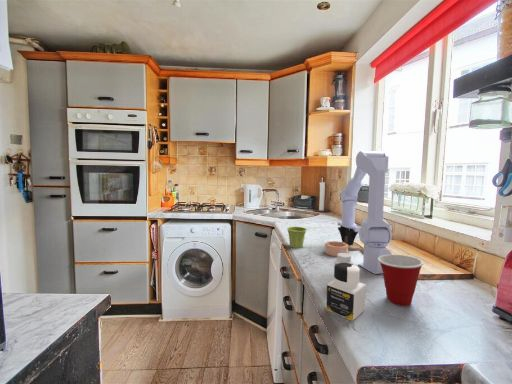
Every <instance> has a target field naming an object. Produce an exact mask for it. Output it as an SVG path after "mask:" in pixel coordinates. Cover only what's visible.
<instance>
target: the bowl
mask: <svg viewBox="0 0 512 384" xmlns="http://www.w3.org/2000/svg"><path fill="white" fill-rule="evenodd" d="M324 247H325V248H324V249H325V251H324V252H325V253H326V255H329V256H330V257H335V258H337V254H338V253H347V254H349V251H348V244H346V243H344V242H342V241H335V240H332V241H327V242H326V243H325V244H324Z"/></svg>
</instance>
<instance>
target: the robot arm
mask: <svg viewBox="0 0 512 384" xmlns="http://www.w3.org/2000/svg"><path fill="white" fill-rule="evenodd" d="M355 165H356V168H355V169H356V170H355V172H354V174H353V177H351V178H349V180H348V182H347V184H346V185H345V186H346V187H345V188H342V189H341V191H340V195H339V197H340V201H341V220H338V221H337V226H338V227H337V230H338V231H339V234H340V239H341V242H345V236H347V238H348V245H353V243H354V242H355V239H356V237H357V236H358V238H359V241H360V242H361V243H362V244H363V262H360V263H359V262H358V263H357V265H358V266H360V267H361V268H363V269H365V270H366V271H369V272H370V273H372V274H374V275H380V274H383V270H382V267H381V264H380V262H379V261H378V257H380V256H383V255H393V254H392V252H391V251H390V249H388V248H387V247H388V244H390V242H391V240H392V238H393V236H392V234H393V233H392V232H391V224H390V223H389V222H388V221H386V220H385V219H384V204H385V203H384V202H385V185H386V173H388V170H389V169H388V168H389V155H388V154H387V152H386V151H383V150H381V151H363V150H359V151H358V152H357V154H356V156H355ZM366 175H368V177H369V180H368V181H369V182H368V198H367V199H368V201H367V218H365V219H364V220H363V221H361V223H360V226H357V224H356V223H355V219H356V206H357V202H358V200H359V199H358V198H359V195H358V194H359V192H360V190H361V188H362V186H363V182H362V181H363V180H364V178H365V176H366ZM354 244H355V243H354Z"/></svg>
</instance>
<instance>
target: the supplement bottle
mask: <svg viewBox="0 0 512 384" xmlns="http://www.w3.org/2000/svg"><path fill="white" fill-rule="evenodd" d="M338 263H350V264H353V265H354V262H353V261H352V255H351V254H350V253H348V254H347V253H338V254H337V257H336V259H334V265H333V267H334V266H335V265H336V264H338Z"/></svg>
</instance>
